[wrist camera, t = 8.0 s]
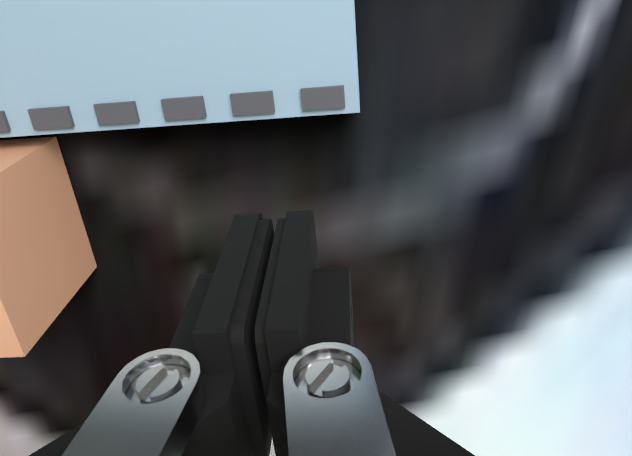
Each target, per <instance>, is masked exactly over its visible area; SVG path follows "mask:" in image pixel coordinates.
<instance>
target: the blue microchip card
mask: <svg viewBox="0 0 632 456" xmlns="http://www.w3.org/2000/svg"><path fill="white" fill-rule="evenodd" d="M346 113H360V100H359V81H358V62H357V43H356V24H355V5H354V0H0V138H4V137H18V136H32V135H47V134H61V133H75V132H89V131H104V130H118V129H132V128H146V127H160V126H175V125H189V124H203V123H217V122H232V121H246V120H260V119H274V118H289V117H303V116H317V115H331V114H346Z"/></svg>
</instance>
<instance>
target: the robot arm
mask: <svg viewBox="0 0 632 456" xmlns="http://www.w3.org/2000/svg"><path fill="white" fill-rule="evenodd" d="M272 438H273V444H274V449H275V454H276V456H475V455H473V454H472V453H470V452H469V451H467V450H466V449H464V448H463V447H461V446H460V445H458V444H457V443H455V442H454V441H452V440H451V439H449V438H448V437H446V436H445V435H443V434H442V433H441V432H439V431H438V430H436V429H435V428H433V427H432V426H430V425H429V424H427V423H426V422H424V421H423V420H421V419H420V418H418V417H417V416H415V415H414V414H412V413H411V412H409V411H408V410H407V409H405V408H404V407H402V406H401V405H399V404H398V403H396V402H395V401H393V400H392V399H390V398H389V397H387V396H386V395H384V394H383V393H381V392H380V391H378V389H377V386H376V382H375V378H374V375H373V371H372V368H371V365H370V363H369V361H368V359H367V357H366V356H365V355H364V354H363V353H362V352H361V351H359V350H358V349H356V348H354V329H353V308H352V292H351V278H350V267H329V268H319V263H318V254H317V244H316V234H315V224H314V215H313V211H312V210H305V211H288V212H287V214H286V218H279V219H278V220H277V224H276V229H275V234H274V231H273V224H272V220H271V219H263V216H262V214H261V213H253V214H236V215H235V217H234V219H233V222H232V225H231V228H230V230H229V233H228V236H227V239H226V241H225V244H224V247H223V250H222V252H221V255H220V258H219V261H218V263H217V266H216V269H215V272H214V273H208V274H200V275H199V276H198V278H197V280H196V282H195V285H194V287H193V290H192V292H191V295H190V297H189V300H188V302H187V305H186V307H185V310H184V312H183V315H182V317H181V319H180V322H179V324H178V327H177V329H176V332H175V334H174V337H173V339H172V342H171V344H170V347H169V348H168V349H159V350H155V351H151V352H148V353H146V354H144V355H141V356H139V357H137V358H136V359H134V360H133V361H131V362H130V363H129V364H127V365H126V366H125V367H124V368H123V369H122V370H121V371H120V372H119V374H118V375H117V376H116V378H115V379H114V381H113V382H112V383H111V385H110V386H109V388H108V389H107V391H106V392H105V394H104V395H103V396H102V398H101V399H100V401H99V402H98V404H97V405H96V407H95V408H94V410H93V411H92V412H91V414H90V415H89V417H88V418H87V420H86V421H85V422H84V423H82V424H81V425H79V426H77V427H76V428H74V429H72V430H71V431H69V432H67V433H66V434H64V435H62V436H61V437H59V438H57V439H56V440H54V441H52V442H51V443H49V444H47V445H46V446H44V447H42V448H41V449H39V450H37V451H36V452H34V453H32V454H31V455H29V456H269V454H270V447H271V440H272Z"/></svg>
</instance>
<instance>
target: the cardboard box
mask: <svg viewBox="0 0 632 456" xmlns="http://www.w3.org/2000/svg"><path fill="white" fill-rule="evenodd" d="M96 267H97V265H96V262H95V259H94V256H93V253H92V249H91V246H90V243H89V240H88V237H87V233H86V230H85V227H84V224H83V221H82V218H81V214H80V211H79V208H78V205H77V202H76V198H75V195H74V192H73V189H72V186H71V182H70V179H69V176H68V173H67V170H66V167H65V163H64V160H63V157H62V154H61V151H60V147H59V144H58V141H57V138H56V137H42V138H27V139H13V140H0V358H4V357H25V356H26V355H27V354H28V352H29V351H30V350H31V349H32V347H33V346H34V345H35V344H36V342H37V341H38V340H39V339H40V337H41V336H42V335H43V334H44V332H45V331H46V330H47V329H48V327H49V326H50V325H51V324H52V322H53V321H54V320H55V319H56V317H57V316H58V315H59V314H60V312H61V311H62V310H63V309H64V307H65V306H66V305H67V304H68V302H69V301H70V300H71V299H72V297H73V296H74V295H75V294H76V292H77V291H78V290H79V289H80V287H81V286H82V285H83V284H84V282H85V281H86V280H87V279H88V277H89V276H90V275H91V274H92V272H93V271H94V270H95V269H96Z"/></svg>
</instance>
